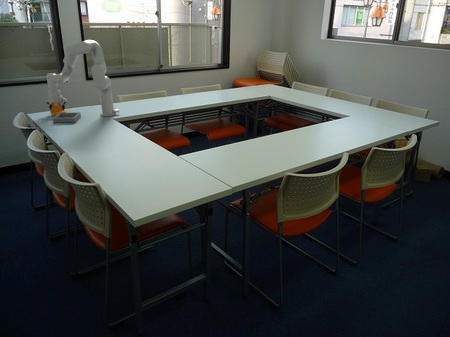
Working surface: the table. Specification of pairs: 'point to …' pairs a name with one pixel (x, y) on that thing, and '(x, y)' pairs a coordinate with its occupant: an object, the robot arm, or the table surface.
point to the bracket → (56, 109)
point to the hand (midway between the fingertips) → (57, 109)
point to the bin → (67, 117)
